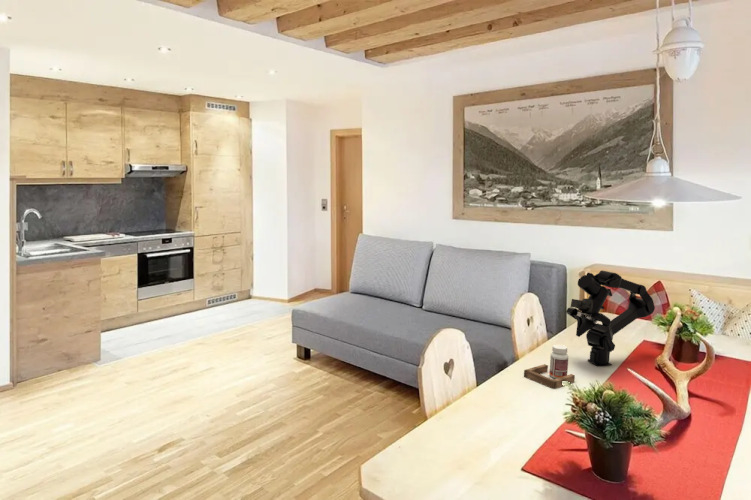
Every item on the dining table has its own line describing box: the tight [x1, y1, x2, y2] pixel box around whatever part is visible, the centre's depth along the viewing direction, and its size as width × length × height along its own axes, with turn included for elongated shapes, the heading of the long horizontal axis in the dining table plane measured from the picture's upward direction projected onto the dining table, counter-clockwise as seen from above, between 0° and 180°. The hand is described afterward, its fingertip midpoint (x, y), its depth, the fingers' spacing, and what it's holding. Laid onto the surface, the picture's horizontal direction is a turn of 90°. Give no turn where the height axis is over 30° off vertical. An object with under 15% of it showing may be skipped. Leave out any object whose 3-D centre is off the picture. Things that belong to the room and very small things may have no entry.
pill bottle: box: [549, 344, 569, 379], centre depth 190 cm, size 6×6×11 cm
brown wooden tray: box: [523, 363, 576, 390], centre depth 188 cm, size 12×13×2 cm
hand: (577, 336), depth 198 cm, fingers closed
